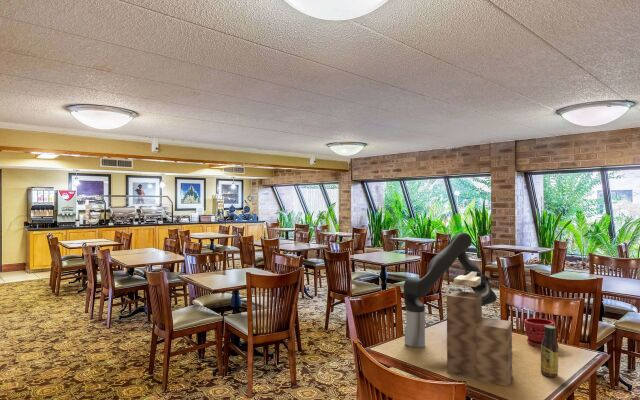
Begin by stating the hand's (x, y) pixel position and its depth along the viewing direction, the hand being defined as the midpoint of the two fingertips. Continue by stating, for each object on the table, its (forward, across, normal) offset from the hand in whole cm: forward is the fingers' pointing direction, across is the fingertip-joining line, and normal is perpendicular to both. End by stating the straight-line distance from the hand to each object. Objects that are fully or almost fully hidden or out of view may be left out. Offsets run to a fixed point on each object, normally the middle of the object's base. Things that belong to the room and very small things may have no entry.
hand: (472, 273), depth 177 cm
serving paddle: (+3, 0, +5) cm, 6 cm away
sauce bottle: (-18, +30, +34) cm, 49 cm away
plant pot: (-51, +24, +16) cm, 58 cm away
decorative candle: (-46, -15, +19) cm, 51 cm away
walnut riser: (-5, +6, +42) cm, 42 cm away
